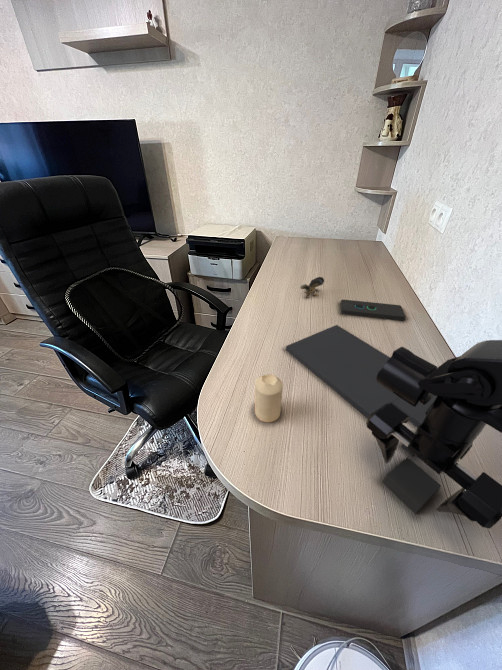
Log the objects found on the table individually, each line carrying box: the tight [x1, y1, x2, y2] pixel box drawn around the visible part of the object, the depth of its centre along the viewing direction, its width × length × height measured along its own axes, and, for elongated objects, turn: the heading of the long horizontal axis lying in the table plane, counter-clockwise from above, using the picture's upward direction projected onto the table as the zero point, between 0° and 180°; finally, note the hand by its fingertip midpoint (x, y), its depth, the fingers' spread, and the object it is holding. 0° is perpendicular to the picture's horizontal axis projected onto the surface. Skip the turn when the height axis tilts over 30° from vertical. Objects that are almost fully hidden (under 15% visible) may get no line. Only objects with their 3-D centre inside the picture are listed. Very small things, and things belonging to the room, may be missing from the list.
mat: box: [285, 324, 437, 457], centre depth 69 cm, size 38×20×2 cm, turn 33°
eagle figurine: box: [299, 276, 325, 299], centre depth 105 cm, size 8×7×9 cm
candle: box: [254, 373, 284, 423], centre depth 57 cm, size 6×6×10 cm
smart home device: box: [340, 299, 406, 322], centre depth 95 cm, size 8×2×20 cm
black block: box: [382, 457, 442, 515], centre depth 46 cm, size 6×6×2 cm
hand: (411, 483), depth 46 cm, fingers open, 9 cm apart
